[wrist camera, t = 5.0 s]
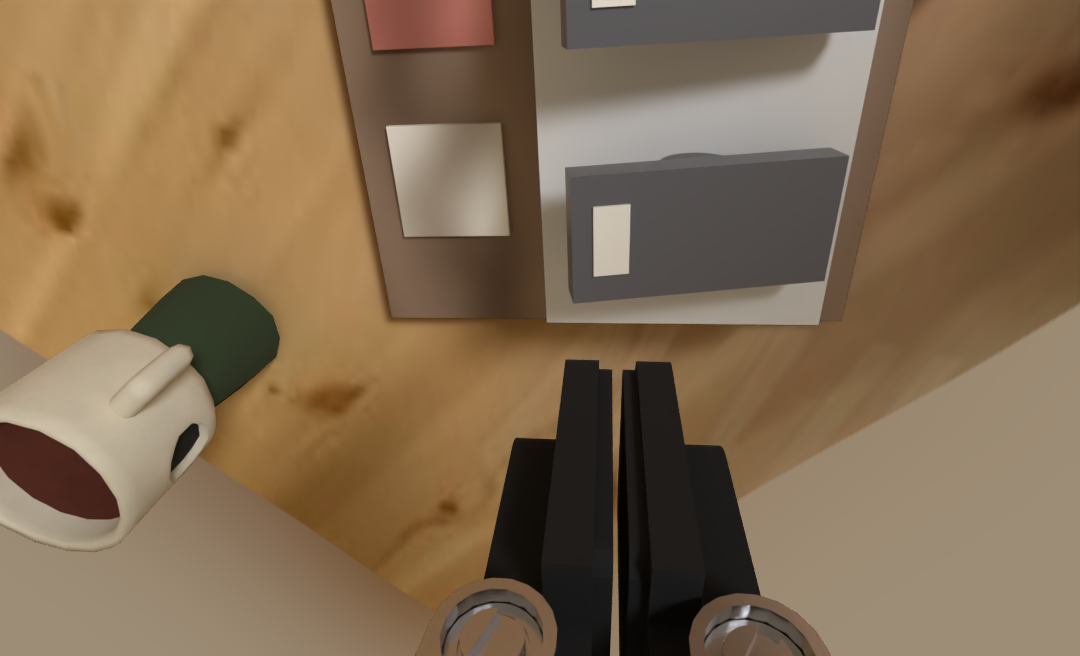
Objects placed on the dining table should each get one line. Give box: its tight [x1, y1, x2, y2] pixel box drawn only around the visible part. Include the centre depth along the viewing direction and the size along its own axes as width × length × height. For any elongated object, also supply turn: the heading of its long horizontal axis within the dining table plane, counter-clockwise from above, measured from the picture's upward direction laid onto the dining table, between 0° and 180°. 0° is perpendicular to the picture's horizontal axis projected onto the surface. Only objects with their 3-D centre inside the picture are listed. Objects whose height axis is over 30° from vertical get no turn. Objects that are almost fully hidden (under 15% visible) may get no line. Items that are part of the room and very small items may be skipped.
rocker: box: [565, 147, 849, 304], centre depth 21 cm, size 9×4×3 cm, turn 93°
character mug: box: [0, 275, 280, 552], centre depth 28 cm, size 11×7×13 cm, turn 131°
